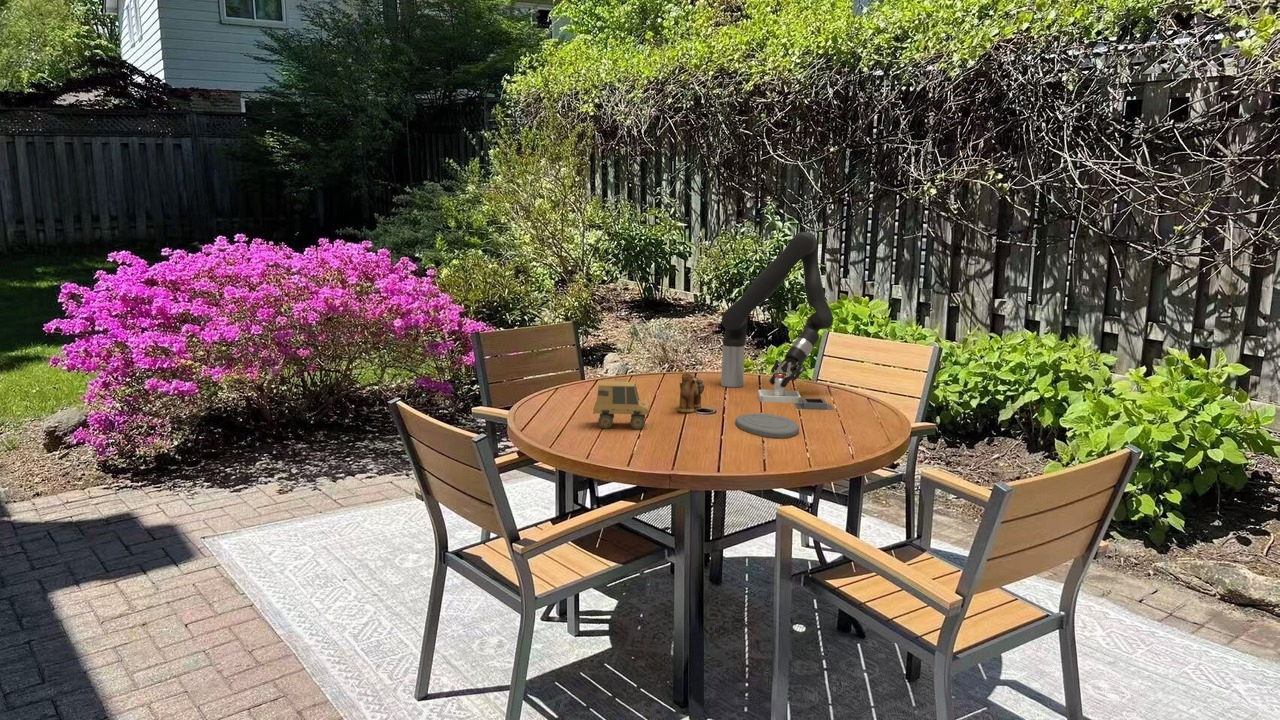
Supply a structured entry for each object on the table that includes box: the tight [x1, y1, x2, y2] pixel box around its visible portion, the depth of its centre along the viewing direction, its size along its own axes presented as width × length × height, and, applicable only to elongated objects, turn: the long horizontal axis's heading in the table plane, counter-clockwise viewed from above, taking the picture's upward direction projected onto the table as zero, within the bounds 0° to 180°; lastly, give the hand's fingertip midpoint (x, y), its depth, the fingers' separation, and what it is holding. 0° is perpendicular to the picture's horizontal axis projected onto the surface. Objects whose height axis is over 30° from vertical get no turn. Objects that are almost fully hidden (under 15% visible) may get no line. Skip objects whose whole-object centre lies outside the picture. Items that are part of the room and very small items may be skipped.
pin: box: [773, 372, 786, 396], centre depth 345 cm, size 4×4×10 cm
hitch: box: [793, 397, 835, 411], centre depth 334 cm, size 14×9×3 cm, turn 87°
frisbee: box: [735, 412, 800, 439], centre depth 306 cm, size 20×27×3 cm
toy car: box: [593, 380, 650, 430], centre depth 304 cm, size 10×19×15 cm, turn 89°
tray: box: [757, 389, 802, 404], centre depth 346 cm, size 16×12×3 cm
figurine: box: [677, 372, 705, 414], centre depth 327 cm, size 9×15×15 cm, turn 159°
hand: (776, 384), depth 343 cm, fingers open, 5 cm apart
